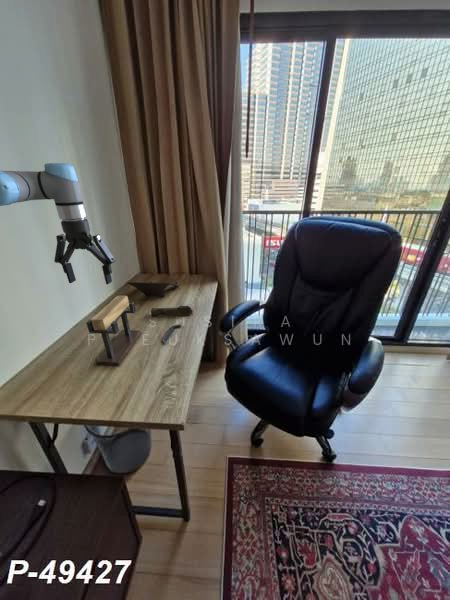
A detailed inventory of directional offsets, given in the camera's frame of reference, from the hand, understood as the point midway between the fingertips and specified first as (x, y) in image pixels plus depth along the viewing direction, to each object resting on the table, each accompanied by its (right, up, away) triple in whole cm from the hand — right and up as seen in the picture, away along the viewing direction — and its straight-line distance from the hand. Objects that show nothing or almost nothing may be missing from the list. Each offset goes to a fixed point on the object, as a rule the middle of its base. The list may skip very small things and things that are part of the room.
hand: (90, 282), depth 88 cm
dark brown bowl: (+9, -3, +54) cm, 54 cm away
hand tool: (+22, -13, +31) cm, 41 cm away
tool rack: (+7, -25, +9) cm, 27 cm away
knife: (+25, -21, +16) cm, 36 cm away
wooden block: (+7, -13, +3) cm, 15 cm away
